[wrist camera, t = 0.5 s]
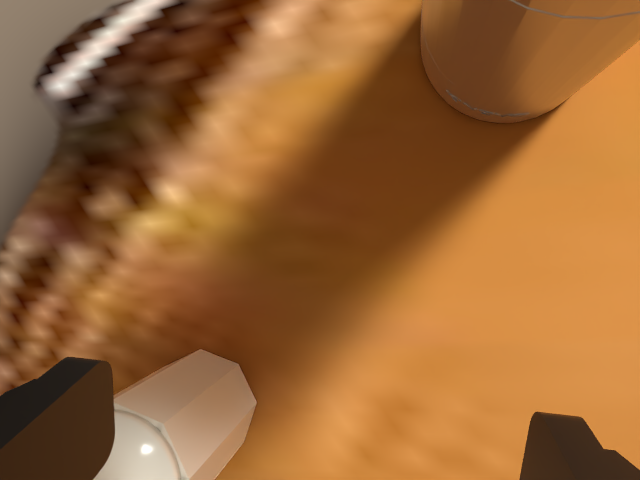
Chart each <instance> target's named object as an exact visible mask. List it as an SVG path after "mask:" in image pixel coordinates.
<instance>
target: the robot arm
mask: <svg viewBox="0 0 640 480" xmlns="http://www.w3.org/2000/svg"><path fill="white" fill-rule="evenodd" d="M639 40H640V0H422V10H421V35H420V45H421V56H422V61H423V65H424V68H425V71H426V74H427V77H428V78H429V80H430V82H431V83H432V85H433V87H434V89H435V90H436V91H437V93H438V94H439V95H440V96H441V97H442V98H443V99H444V100H445V101H446V102H447V103H448V104H449V105H451V106H452V107H454V108H455V109H457V110H458V111H460V112H461V113H463V114H465V115H468V116H470V117H473V118H475V119H478V120H482V121H488V122H494V123H515V122H520V121H524V120H528V119H532V118H536V117H538V116H540V115H542V114H544V113H547V112H549V111H551V110H553V109H554V108H556V107H557V106H558V105H560V104H561V103H562V102H564V101H565V100H567V99H568V98H569V97H570V96H572V95H573V94H574V93H575V92H577V91H578V90H579V89H580V88H581V87H583V86H584V85H585V84H587V83H588V82H589V81H590V80H592V79H593V78H594V77H595V76H597V75H598V74H599V73H600V72H602V71H603V70H604V69H605V68H606V67H608V66H609V65H610V64H611V63H612V62H614V61H615V60H616V59H617V58H619V57H620V56H621V55H622V54H623V53H625V52H626V51H627V50H628V49H630V48H631V47H632V46H633V45H634V44H636V43H637V42H638V41H639ZM114 438H115V418H114V397H113V377H112V369H111V366H110V364H109V363H108V362H107V361H101V360H92V359H84V358H75V357H67V358H64V359H63V360H61V361H60V362H59V363H58V364H56V365H55V366H54V367H52V368H51V369H50V370H49V371H47V372H46V373H45V374H43V375H42V376H41V377H39V378H38V379H34V380H32V381H30V382H27V383H25V384H23V385H21V386H19V387H16V388H14V389H12V390H10V391H7V392H5V393H4V394H3V395H1V396H0V480H93V479H94V478H95V477H96V475H97V474H98V473H99V472H100V470H101V469H102V468H103V466H104V465H105V463H106V462H107V460H108V458H109V456H110V453H111V451H112V447H113V443H114ZM520 480H640V470H639V469H637V468H636V467H635V466H634V465H632V464H631V463H630V462H629V461H628V460H626V459H625V458H624V457H623V456H621V455H620V454H619V453H618V452H616V451H615V450H607V449H603V448H602V446H601V445H600V443H599V442H598V440H597V438H596V437H595V435H594V434H593V432H592V431H591V429H590V428H589V426H588V425H587V423H586V422H585V421H584V419H583V418H581V417H578V416H569V415H560V414H552V413H543V412H535V413H534V414H533V416H532V418H531V421H530V426H529V431H528V436H527V442H526V447H525V453H524V458H523V463H522V469H521V474H520Z"/></svg>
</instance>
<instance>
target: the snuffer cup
mask: <svg viewBox="0 0 640 480" xmlns="http://www.w3.org/2000/svg"><path fill="white" fill-rule="evenodd" d="M113 397H114V418H115V438H114V443H113V447H112V451H111V453H110V456H109V458H108V460H107V462H106V463H105V465H104V466H103V468H102V469H101V470H100V472H99V473H98V474H97V475H96V477H95V478H94V479H93V480H215V478H216V477H217V476H218V475H219V473H220V472H221V471H222V470H223V468H224V467H225V466H226V464H227V463H228V462H229V461H230V459H231V458H232V457H233V455H234V454H235V453H236V452H237V450H238V449H239V448H240V446H241V445H242V444H243V443H244V441H245V438H246V435H247V432H248V428H249V425H250V422H251V419H252V416H253V413H254V410H255V407H256V404H257V402H256V400H255V398H254V395H253V393H252V391H251V389H250V387H249V385H248V383H247V381H246V379H245V377H244V374H243V372H242V370H241V368H240V366H239V364H237V363H235V362H232V361H230V360H227V359H225V358H222V357H220V356H217V355H215V354H212V353H210V352H207V351H205V350H202V349H199V350H197V351H195V352H193V353H191V354H189V355H187V356H185V357H183V358H181V359H179V360H177V361H175V362H173V363H171V364H169V365H167V366H164V367H163V368H161V369H159V370H157V371H156V372H154V373H152V374H150V375H149V376H147V377H145V378H143V379H141V380H140V381H138V382H136V383H134V384H133V385H131V386H129V387H127V388H126V389H124V390H122V391H120V392H119V393H117V394H115V395H113Z"/></svg>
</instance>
